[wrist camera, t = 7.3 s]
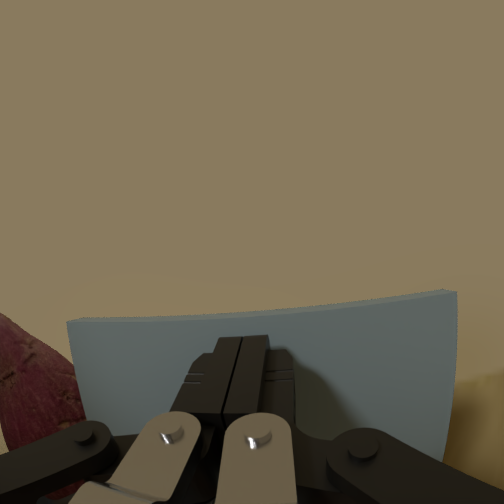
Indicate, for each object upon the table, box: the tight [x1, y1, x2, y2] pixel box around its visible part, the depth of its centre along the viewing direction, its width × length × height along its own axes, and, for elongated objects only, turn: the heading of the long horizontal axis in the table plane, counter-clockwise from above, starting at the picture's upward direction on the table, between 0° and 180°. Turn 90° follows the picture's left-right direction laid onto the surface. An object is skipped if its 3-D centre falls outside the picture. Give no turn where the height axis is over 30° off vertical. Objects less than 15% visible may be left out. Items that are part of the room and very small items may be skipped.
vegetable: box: [0, 313, 87, 500], centre depth 17 cm, size 10×10×15 cm
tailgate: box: [66, 289, 457, 462], centre depth 11 cm, size 14×2×12 cm, turn 84°
